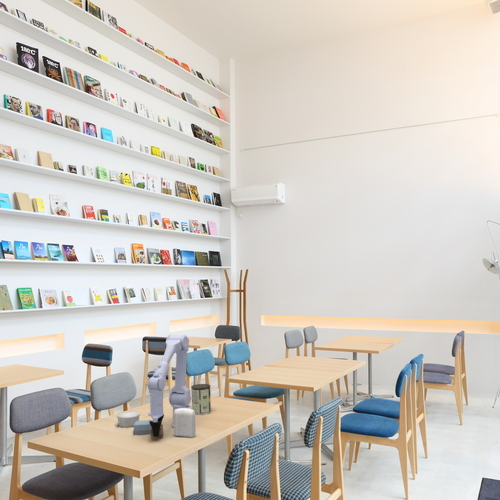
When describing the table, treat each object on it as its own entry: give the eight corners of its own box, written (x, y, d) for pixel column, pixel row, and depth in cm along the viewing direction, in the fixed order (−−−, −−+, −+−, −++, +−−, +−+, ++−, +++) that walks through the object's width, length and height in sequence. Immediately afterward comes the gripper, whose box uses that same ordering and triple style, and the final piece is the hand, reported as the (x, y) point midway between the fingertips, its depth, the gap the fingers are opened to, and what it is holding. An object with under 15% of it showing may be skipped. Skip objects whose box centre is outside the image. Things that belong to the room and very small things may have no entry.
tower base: (152, 430, 229) (152, 424, 229) (150, 435, 221) (150, 429, 221) (135, 431, 228) (135, 425, 228) (133, 436, 220) (133, 430, 220)
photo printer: (197, 435, 218) (196, 407, 219) (193, 437, 214) (192, 409, 215) (176, 433, 221) (176, 406, 222) (172, 436, 217) (172, 408, 218)
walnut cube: (163, 435, 219) (163, 424, 219) (162, 438, 214) (162, 427, 214) (152, 436, 218) (152, 424, 219) (150, 439, 214) (150, 428, 214)
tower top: (151, 425, 228) (151, 420, 228) (149, 429, 221) (149, 424, 221) (136, 426, 228) (136, 420, 228) (133, 430, 221) (133, 425, 221)
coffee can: (199, 408, 264) (199, 383, 265) (214, 411, 258) (214, 384, 259) (187, 413, 255) (187, 386, 256) (202, 415, 250) (202, 388, 251)
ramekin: (134, 428, 231) (134, 417, 231) (112, 427, 233) (112, 416, 234) (143, 421, 242) (143, 411, 242) (123, 421, 244) (123, 410, 245)
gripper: (149, 400, 224) (150, 429, 223) (145, 408, 210) (146, 439, 209) (164, 399, 225) (165, 428, 224) (161, 407, 210) (162, 438, 209)
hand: (157, 434), depth 216 cm, fingers open, 7 cm apart
